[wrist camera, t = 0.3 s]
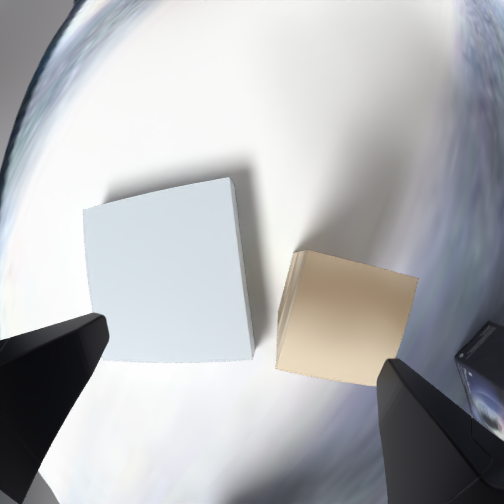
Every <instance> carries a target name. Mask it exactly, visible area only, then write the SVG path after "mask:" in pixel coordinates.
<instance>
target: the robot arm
mask: <svg viewBox="0 0 504 504" xmlns="http://www.w3.org/2000/svg"><path fill="white" fill-rule="evenodd" d="M109 338H110V335H109V330H108V325H107V320H106V317H105V316H104V315H102V314H99V313H90V314H87V315H84V316H81V317H77V318H74V319H71V320H67V321H64V322H61V323H58V324H54V325H51V326H48V327H44V328H41V329H38V330H34V331H31V332H27V333H24V334H21V335H17V336H14V337H10V339H9V338H7V339H3V340H0V490H1V491H2V492H4V493H5V494H6V495H7V496H9V497H10V498H11V499H13V500H14V501H15V502H17V503H18V504H22V503H23V501H24V499H25V497H26V494H27V492H28V490H29V488H30V486H31V484H32V482H33V480H34V477H35V476H36V473H37V471H38V469H39V467H40V465H41V463H42V461H43V459H44V457H45V455H46V454H47V452H48V450H49V448H50V446H51V444H52V442H53V440H54V439H55V437H56V435H57V433H58V431H59V430H60V428H61V426H62V424H63V423H64V421H65V419H66V417H67V416H68V414H69V412H70V410H71V409H72V407H73V405H74V404H75V402H76V400H77V399H78V397H79V395H80V394H81V392H82V390H83V389H84V387H85V386H86V384H87V382H88V381H89V379H90V377H91V376H92V374H93V372H94V370H95V368H96V366H97V364H98V362H99V360H100V358H101V356H102V354H103V352H104V350H105V348H106V346H107V344H108V342H109ZM376 387H377V401H378V419H379V429H380V436H381V443H382V450H383V457H384V465H385V474H386V484H387V495H388V504H504V441H503V440H502V439H500V438H499V437H497V436H496V435H494V434H493V433H491V432H490V431H489V430H488V429H486V428H485V427H484V426H482V425H481V424H480V423H479V422H477V421H476V420H475V419H474V418H471V416H470V415H469V414H467V413H466V412H465V411H464V410H463V409H461V408H460V407H459V406H458V405H456V404H455V403H454V402H453V401H451V400H450V399H449V398H448V397H446V396H445V395H444V394H443V393H441V392H440V391H439V390H438V389H436V388H435V387H434V386H433V385H431V384H430V383H429V382H428V381H426V380H425V379H424V378H423V377H421V376H420V375H419V374H418V373H416V372H415V371H414V370H413V369H411V368H410V367H409V366H408V365H406V364H405V363H404V362H403V361H401V360H400V359H398V358H388V359H386V361H385V362H384V364H383V367H382V369H381V371H380V373H379V375H378V378H377V382H376Z"/></svg>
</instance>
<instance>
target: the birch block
mask: <svg viewBox="0 0 504 504" xmlns="http://www.w3.org/2000/svg"><path fill="white" fill-rule="evenodd" d="M418 279H419V278H416V277H412V276H408V275H404V274H401V273H397V272H393V271H389V270H385V269H381V268H378V267H374V266H370V265H366V264H362V263H358V262H354V261H350V260H347V259H343V258H339V257H335V256H331V255H327V254H323V253H319V252H315V251H311V250H305V251H299V252H294V253H293V255H292V259H291V263H290V267H289V271H288V275H287V279H286V283H285V287H284V291H283V295H282V299H281V303H280V306H279V310H278V328H277V352H276V369H278V370H282V371H287V372H291V373H296V374H301V375H306V376H311V377H317V378H322V379H328V380H334V381H340V382H346V383H353V384H361V385H368V386H376V382H377V378H378V375H379V373H380V371H381V369H382V367H383V364H384V362H385V361H386V359H388V358H395V357H396V354H397V351H398V349H399V346H400V343H401V340H402V337H403V334H404V331H405V327H406V324H407V321H408V317H409V314H410V310H411V307H412V303H413V299H414V296H415V292H416V288H417V283H418Z"/></svg>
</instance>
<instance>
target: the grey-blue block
mask: <svg viewBox="0 0 504 504" xmlns="http://www.w3.org/2000/svg"><path fill="white" fill-rule="evenodd" d="M83 226H84V244H85V256H86V267H87V276H88V284H89V291H90V298H91V305H92V311H93V313H99V314H102V315H104V316H105V317H106V320H107V325H108V330H109V335H110V338H109V342H108V344H107V346H106V348H105V350H104V352H103V354H102V358H103V360H107V361H123V362H146V363H202V362H226V361H242V360H252V359H253V356H254V352H255V343H254V336H253V328H252V321H251V313H250V305H249V298H248V290H247V282H246V274H245V266H244V258H243V250H242V242H241V234H240V226H239V218H238V210H237V202H236V193H235V185H234V184H233V182H232V181H231V179H230V178H229V177H227V178H221V179H215V180H210V181H204V182H199V183H194V184H188V185H183V186H178V187H174V188H169V189H164V190H160V191H155V192H151V193H146V194H142V195H138V196H133V197H129V198H125V199H121V200H117V201H113V202H110V203H106V204H102V205H98V206H95V207H91V208H88V209H84V210H83Z"/></svg>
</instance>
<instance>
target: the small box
mask: <svg viewBox="0 0 504 504" xmlns="http://www.w3.org/2000/svg"><path fill="white" fill-rule="evenodd" d="M455 362H456V365H457V367H458V370H459V373H460V376H461V379H462V382H463V385H464V389H465V392H466V395H467V399H468V402H469V406H470V409H471V413H472V414H473V415H474V416H475V417H476V418H477V419H478V420H480V421H481V422H482V423H483V424H484V425H485V426H486V427H487V428H488V429H490V430H491V431H492V432H493V433H494V434H495V435H496V436H497V437H499V438H500V439H502V440H503V441H504V326H501V325H499V324H496V323H494V322H491V321H489V322H488V323H487V325H486V326H485V327H484V328H483V329H482V330H481V331H480V332H479V334H478V335H477V336H476V337H475V338H474V339H473V340H472V341H471V342H470V343H469V344H468V345H467V346H465V347H464V348H463V349H462V350H461V351H460V352H459V354H457V355H456V357H455Z"/></svg>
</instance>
